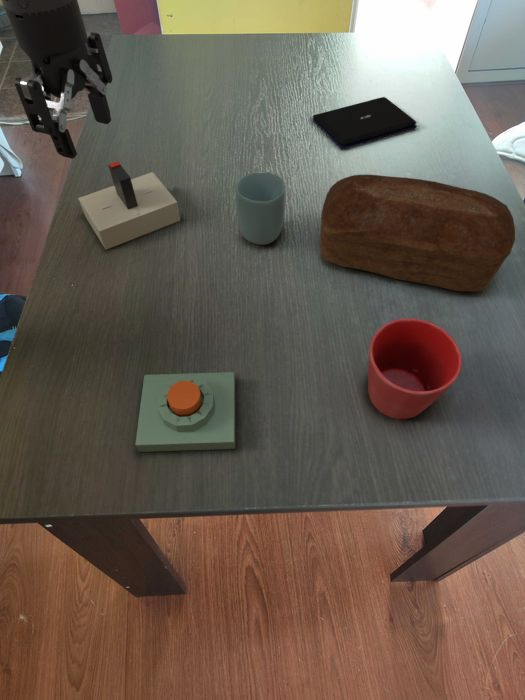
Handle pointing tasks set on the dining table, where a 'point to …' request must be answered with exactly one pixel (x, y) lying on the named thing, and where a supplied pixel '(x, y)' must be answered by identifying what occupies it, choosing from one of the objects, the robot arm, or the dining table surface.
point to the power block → (192, 430)
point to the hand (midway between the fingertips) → (87, 138)
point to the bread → (416, 231)
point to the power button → (184, 398)
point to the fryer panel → (130, 211)
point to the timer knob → (123, 185)
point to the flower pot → (410, 366)
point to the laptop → (363, 122)
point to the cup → (260, 206)
